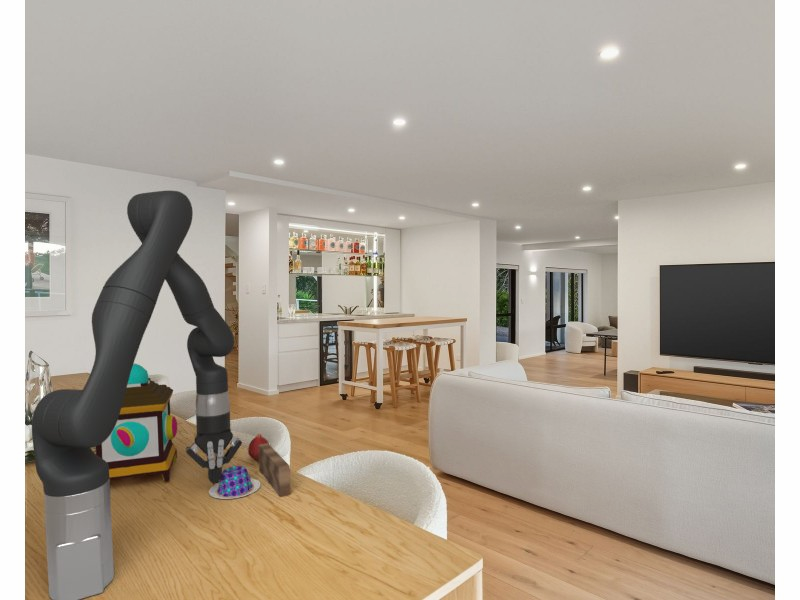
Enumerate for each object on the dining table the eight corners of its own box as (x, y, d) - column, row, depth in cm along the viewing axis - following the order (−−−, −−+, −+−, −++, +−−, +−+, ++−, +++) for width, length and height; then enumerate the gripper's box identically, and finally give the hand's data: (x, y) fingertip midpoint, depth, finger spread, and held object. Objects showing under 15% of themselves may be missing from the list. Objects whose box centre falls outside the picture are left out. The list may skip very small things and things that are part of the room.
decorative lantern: (182, 457, 141) (178, 355, 140) (174, 484, 123) (169, 366, 121) (104, 467, 135) (99, 360, 134) (83, 497, 116) (76, 373, 115)
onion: (248, 466, 133) (247, 437, 133) (249, 459, 139) (248, 431, 139) (270, 464, 135) (269, 435, 135) (270, 456, 141) (269, 429, 140)
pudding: (246, 476, 128) (245, 457, 127) (269, 490, 119) (269, 469, 119) (200, 491, 119) (199, 470, 119) (222, 507, 111) (221, 484, 110)
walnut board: (290, 494, 115) (289, 465, 115) (279, 497, 114) (279, 467, 114) (268, 468, 132) (267, 443, 131) (259, 470, 131) (258, 444, 130)
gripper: (184, 418, 109) (187, 494, 109) (245, 409, 115) (247, 481, 116) (180, 411, 115) (183, 483, 116) (238, 403, 122) (240, 471, 122)
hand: (215, 482), depth 116 cm, fingers closed
